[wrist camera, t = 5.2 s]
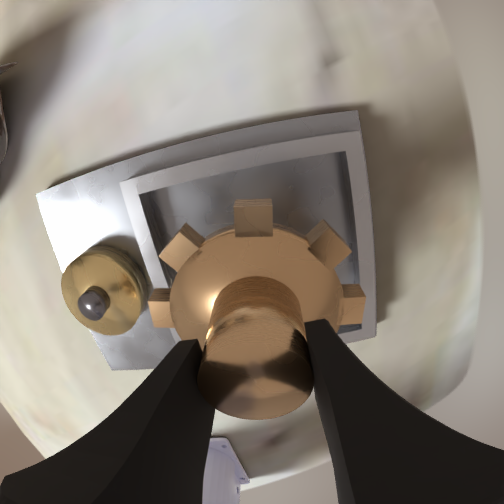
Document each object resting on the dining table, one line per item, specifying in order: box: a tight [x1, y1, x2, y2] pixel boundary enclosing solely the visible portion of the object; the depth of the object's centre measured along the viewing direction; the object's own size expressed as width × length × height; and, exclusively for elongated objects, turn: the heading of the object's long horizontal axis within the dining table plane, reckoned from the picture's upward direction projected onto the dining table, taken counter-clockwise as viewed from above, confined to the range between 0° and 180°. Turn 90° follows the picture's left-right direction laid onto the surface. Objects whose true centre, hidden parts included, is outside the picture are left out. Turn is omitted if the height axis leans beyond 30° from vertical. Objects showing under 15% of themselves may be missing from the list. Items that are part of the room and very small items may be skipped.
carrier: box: [36, 110, 377, 370], centre depth 16 cm, size 13×18×4 cm
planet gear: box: [148, 198, 366, 420], centre depth 10 cm, size 8×8×4 cm
